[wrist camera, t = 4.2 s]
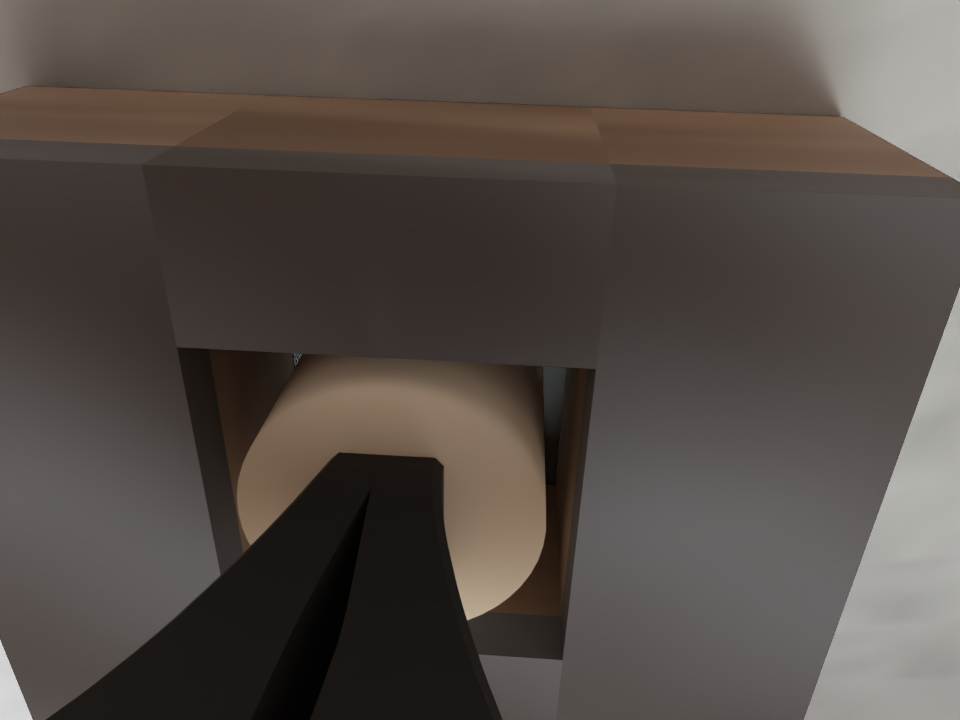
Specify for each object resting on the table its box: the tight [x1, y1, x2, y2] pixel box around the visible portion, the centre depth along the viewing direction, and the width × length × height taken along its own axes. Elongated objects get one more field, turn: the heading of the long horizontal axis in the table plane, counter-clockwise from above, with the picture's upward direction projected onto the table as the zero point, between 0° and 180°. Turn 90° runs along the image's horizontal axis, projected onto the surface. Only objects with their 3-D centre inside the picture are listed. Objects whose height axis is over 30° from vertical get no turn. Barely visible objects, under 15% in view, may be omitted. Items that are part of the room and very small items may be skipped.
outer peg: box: [237, 354, 546, 620], centre depth 11 cm, size 4×4×4 cm
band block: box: [0, 86, 960, 720], centre depth 14 cm, size 18×12×4 cm, turn 179°
